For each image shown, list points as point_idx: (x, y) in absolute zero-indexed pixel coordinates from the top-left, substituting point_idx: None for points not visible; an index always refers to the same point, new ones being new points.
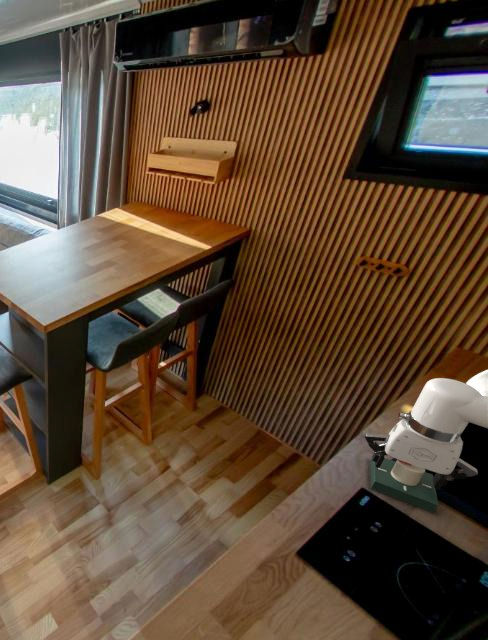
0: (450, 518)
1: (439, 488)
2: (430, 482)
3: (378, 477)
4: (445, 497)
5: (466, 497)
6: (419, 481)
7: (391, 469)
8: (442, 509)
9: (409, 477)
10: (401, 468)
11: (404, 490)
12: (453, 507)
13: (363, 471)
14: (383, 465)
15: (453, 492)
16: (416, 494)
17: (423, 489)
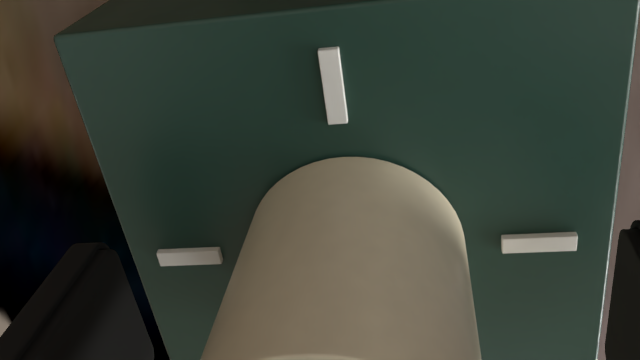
0: (21, 23)
1: (62, 259)
2: (178, 316)
3: (591, 84)
4: (111, 243)
5: None
6: None
7: None
8: None
9: (318, 242)
10: (430, 338)
11: (334, 41)
12: (50, 172)
13: (632, 166)
14: (521, 313)
15: None
16: (231, 65)
17: (198, 190)
